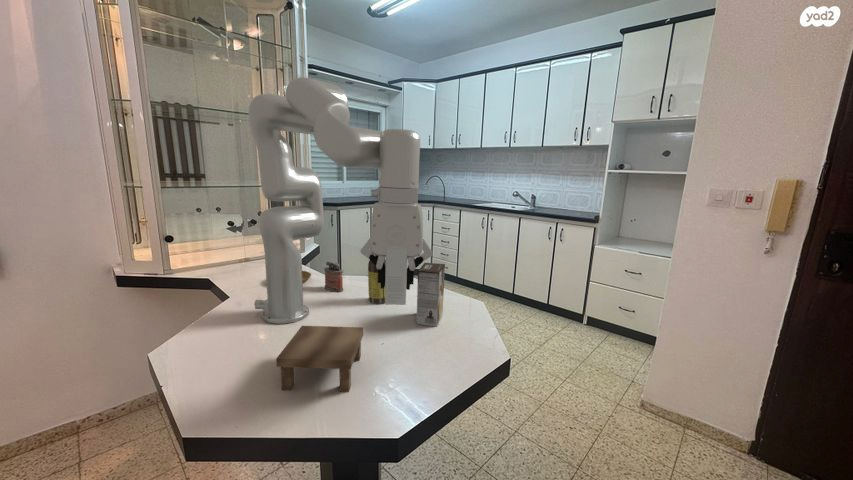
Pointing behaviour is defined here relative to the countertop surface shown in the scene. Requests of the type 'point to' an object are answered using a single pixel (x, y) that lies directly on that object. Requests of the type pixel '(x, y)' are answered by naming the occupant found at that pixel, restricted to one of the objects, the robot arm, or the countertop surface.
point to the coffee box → (430, 294)
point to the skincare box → (395, 275)
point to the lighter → (333, 277)
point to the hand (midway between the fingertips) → (395, 286)
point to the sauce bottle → (375, 285)
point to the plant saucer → (305, 276)
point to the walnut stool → (321, 352)
